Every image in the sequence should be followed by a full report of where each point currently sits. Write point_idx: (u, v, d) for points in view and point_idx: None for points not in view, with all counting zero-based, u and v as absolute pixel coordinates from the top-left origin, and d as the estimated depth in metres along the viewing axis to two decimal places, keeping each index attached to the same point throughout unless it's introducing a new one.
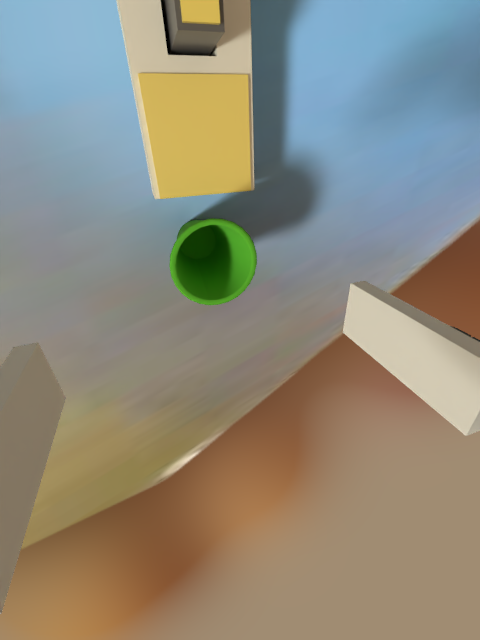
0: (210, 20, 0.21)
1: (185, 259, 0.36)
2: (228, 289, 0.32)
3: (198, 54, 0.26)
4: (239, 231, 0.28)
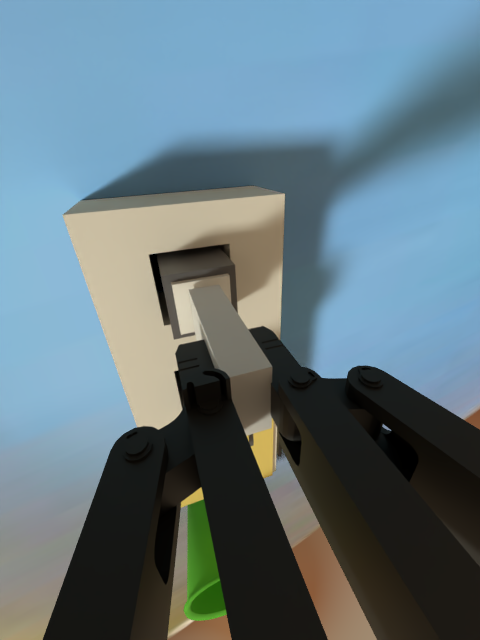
0: None
1: None
2: None
3: None
4: None
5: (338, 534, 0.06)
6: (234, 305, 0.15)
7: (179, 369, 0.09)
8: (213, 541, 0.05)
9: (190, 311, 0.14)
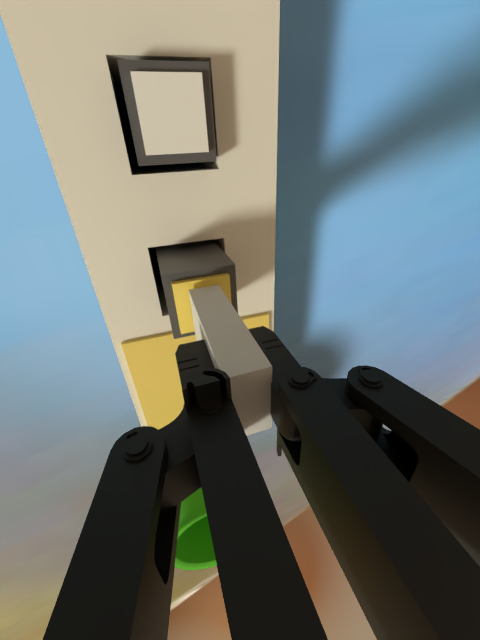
0: None
1: None
2: None
3: None
4: None
5: (338, 534, 0.06)
6: (210, 127, 0.13)
7: (179, 369, 0.09)
8: (213, 541, 0.05)
9: (156, 120, 0.12)
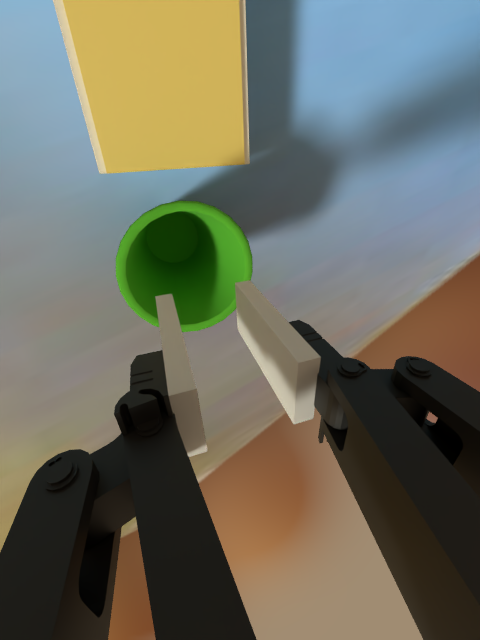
0: None
1: (155, 263, 0.26)
2: (211, 307, 0.22)
3: None
4: (225, 222, 0.18)
5: (380, 516, 0.06)
6: None
7: (131, 383, 0.09)
8: (147, 580, 0.04)
9: None
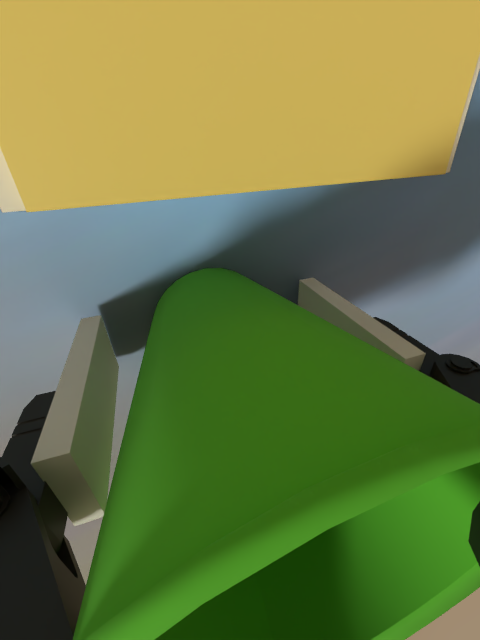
0: None
1: None
2: (349, 579, 0.08)
3: None
4: None
5: None
6: None
7: (14, 434, 0.07)
8: None
9: None
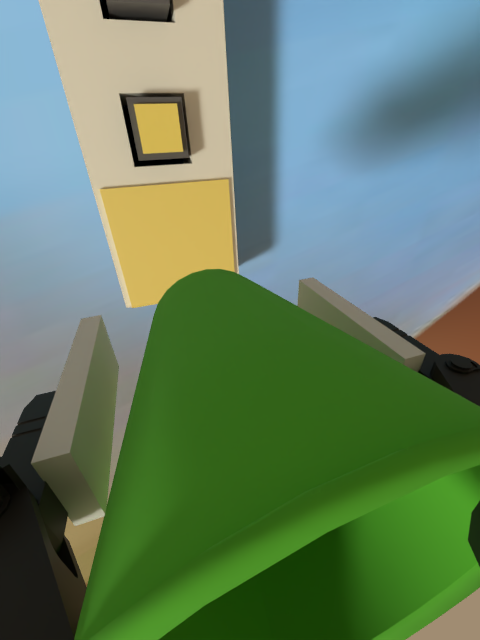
0: (172, 149, 0.20)
1: None
2: (349, 580, 0.08)
3: None
4: None
5: None
6: None
7: (14, 434, 0.07)
8: None
9: None
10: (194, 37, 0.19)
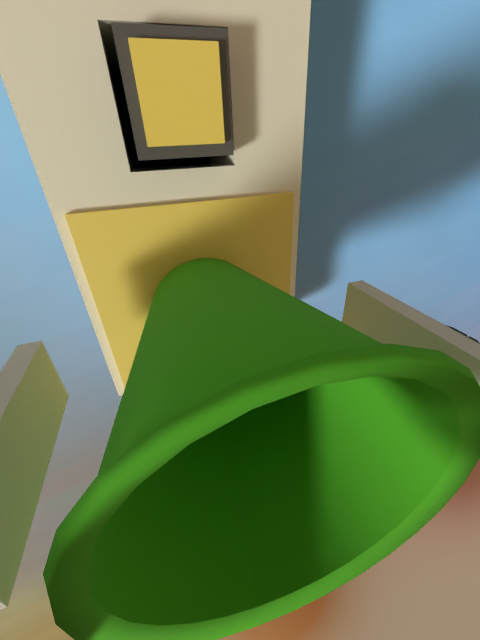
0: (205, 139, 0.10)
1: None
2: (319, 525, 0.09)
3: None
4: (454, 390, 0.05)
5: None
6: None
7: None
8: None
9: None
10: None
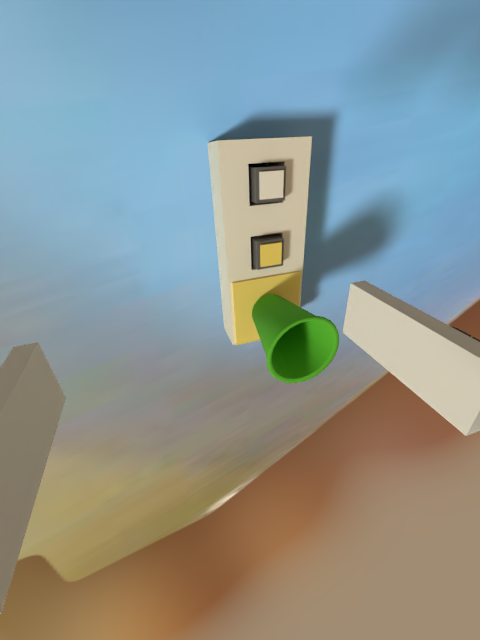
0: (276, 263, 0.37)
1: None
2: (308, 366, 0.35)
3: None
4: (328, 324, 0.31)
5: None
6: (284, 188, 0.32)
7: None
8: None
9: (265, 187, 0.32)
10: (291, 207, 0.35)
